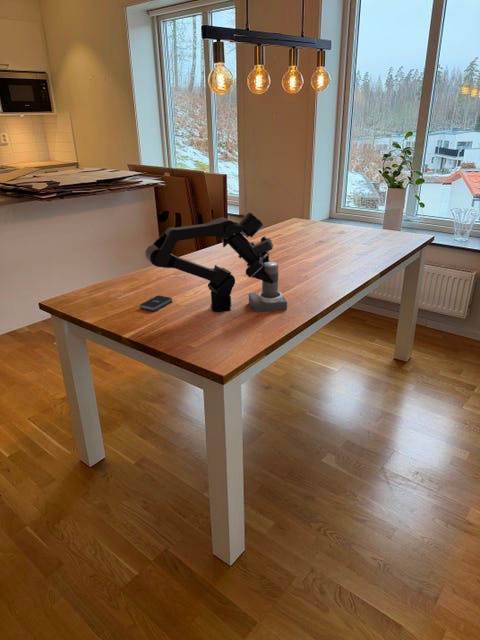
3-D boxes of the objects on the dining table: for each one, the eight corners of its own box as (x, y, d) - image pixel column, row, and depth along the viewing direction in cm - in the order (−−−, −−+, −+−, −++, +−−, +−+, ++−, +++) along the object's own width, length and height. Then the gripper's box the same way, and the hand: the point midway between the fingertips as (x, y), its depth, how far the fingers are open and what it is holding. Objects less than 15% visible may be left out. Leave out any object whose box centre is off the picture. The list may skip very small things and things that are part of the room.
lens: (263, 302, 157) (263, 267, 151) (260, 296, 162) (260, 262, 157) (279, 300, 157) (280, 265, 152) (275, 294, 163) (276, 261, 157)
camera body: (253, 312, 156) (253, 300, 154) (249, 303, 164) (248, 291, 162) (286, 309, 158) (287, 297, 156) (280, 300, 166) (280, 289, 164)
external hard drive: (173, 302, 167) (172, 298, 166) (154, 313, 158) (153, 308, 157) (158, 299, 170) (158, 295, 169) (139, 310, 161) (138, 304, 161)
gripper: (255, 237, 142) (288, 271, 145) (262, 225, 159) (292, 255, 161) (231, 260, 147) (264, 293, 149) (241, 246, 163) (271, 275, 166)
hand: (274, 278), depth 156 cm, fingers open, 9 cm apart
